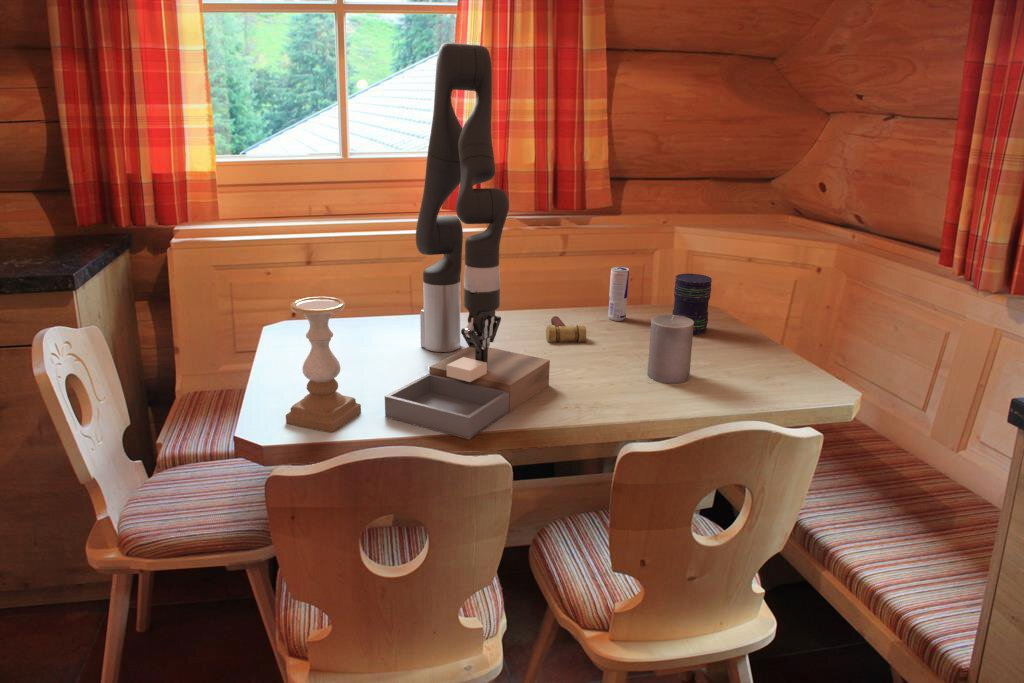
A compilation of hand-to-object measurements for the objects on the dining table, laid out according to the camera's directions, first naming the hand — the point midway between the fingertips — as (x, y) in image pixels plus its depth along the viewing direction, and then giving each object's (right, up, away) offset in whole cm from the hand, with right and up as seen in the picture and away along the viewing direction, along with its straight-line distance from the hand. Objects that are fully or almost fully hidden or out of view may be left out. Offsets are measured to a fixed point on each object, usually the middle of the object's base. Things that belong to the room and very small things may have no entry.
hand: (481, 364), depth 171 cm
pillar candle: (+43, -4, +16) cm, 46 cm away
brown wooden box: (+2, -6, +6) cm, 8 cm away
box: (-7, -10, -8) cm, 14 cm away
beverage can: (+37, +11, +59) cm, 71 cm away
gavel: (+20, +7, +47) cm, 52 cm away
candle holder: (-31, -11, -11) cm, 35 cm away
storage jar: (+56, +8, +51) cm, 76 cm away
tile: (-3, -2, -3) cm, 5 cm away
